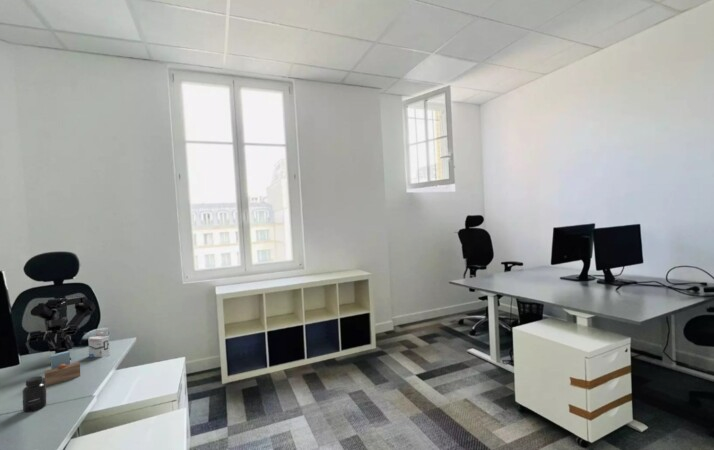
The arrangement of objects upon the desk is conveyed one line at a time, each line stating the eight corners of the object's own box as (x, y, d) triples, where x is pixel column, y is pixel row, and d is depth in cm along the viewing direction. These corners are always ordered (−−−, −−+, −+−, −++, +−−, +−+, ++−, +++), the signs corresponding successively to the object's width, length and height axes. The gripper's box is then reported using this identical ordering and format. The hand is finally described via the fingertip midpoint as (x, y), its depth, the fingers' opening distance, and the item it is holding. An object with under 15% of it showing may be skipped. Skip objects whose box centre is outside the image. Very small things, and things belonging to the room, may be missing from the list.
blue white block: (51, 377, 154) (50, 354, 154) (69, 372, 159) (68, 350, 159) (52, 379, 152) (51, 356, 152) (70, 374, 157) (69, 352, 157)
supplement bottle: (31, 413, 126) (30, 383, 126) (18, 412, 128) (16, 382, 127) (51, 403, 133) (50, 375, 133) (38, 402, 134) (37, 374, 134)
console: (42, 380, 154) (41, 363, 154) (75, 370, 164) (74, 355, 163) (46, 388, 146) (45, 370, 146) (80, 378, 155) (79, 361, 155)
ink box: (88, 359, 178) (87, 332, 178) (96, 355, 183) (95, 329, 183) (102, 359, 177) (101, 332, 177) (110, 355, 182) (109, 329, 182)
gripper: (31, 315, 159) (34, 343, 152) (79, 309, 174) (84, 334, 168) (25, 327, 163) (28, 355, 156) (72, 320, 178) (77, 346, 172)
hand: (56, 347), depth 163 cm, fingers closed
